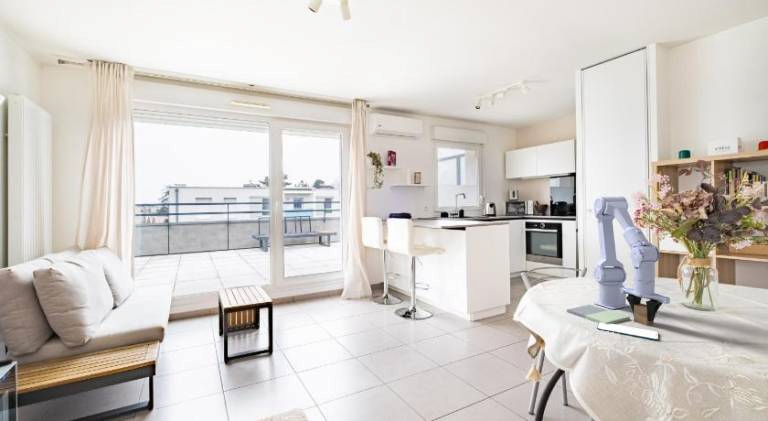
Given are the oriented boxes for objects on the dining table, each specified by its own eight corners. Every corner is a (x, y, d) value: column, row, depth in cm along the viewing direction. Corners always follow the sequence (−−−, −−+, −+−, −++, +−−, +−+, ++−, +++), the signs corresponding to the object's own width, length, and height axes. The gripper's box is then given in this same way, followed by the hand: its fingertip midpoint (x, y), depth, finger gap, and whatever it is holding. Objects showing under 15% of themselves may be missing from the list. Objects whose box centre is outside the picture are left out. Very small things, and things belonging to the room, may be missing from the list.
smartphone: (596, 330, 113) (658, 342, 103) (596, 328, 113) (658, 339, 103) (599, 323, 119) (658, 334, 109) (599, 321, 119) (658, 331, 109)
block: (640, 319, 120) (641, 303, 120) (653, 323, 117) (653, 306, 117) (633, 321, 119) (634, 304, 119) (646, 325, 115) (646, 308, 115)
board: (589, 307, 135) (589, 304, 135) (629, 319, 121) (629, 316, 121) (566, 312, 130) (566, 309, 130) (605, 325, 116) (605, 322, 116)
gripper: (615, 276, 122) (614, 313, 123) (661, 286, 109) (660, 327, 110) (627, 274, 125) (627, 311, 126) (673, 283, 112) (673, 324, 112)
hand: (643, 318), depth 118 cm, fingers closed on block, 4 cm apart
